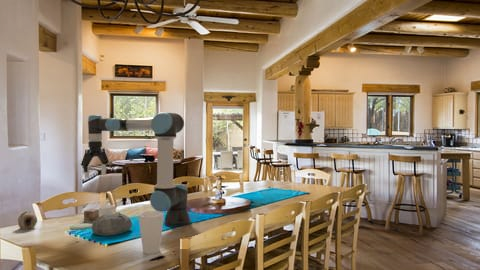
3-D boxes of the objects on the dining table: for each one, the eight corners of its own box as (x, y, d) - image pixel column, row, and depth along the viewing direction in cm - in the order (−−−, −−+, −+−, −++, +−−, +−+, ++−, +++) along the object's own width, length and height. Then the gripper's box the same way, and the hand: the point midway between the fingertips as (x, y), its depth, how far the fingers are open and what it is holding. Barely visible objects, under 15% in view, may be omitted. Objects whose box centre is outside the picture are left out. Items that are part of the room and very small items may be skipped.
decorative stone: (92, 229, 194) (91, 211, 194) (131, 225, 202) (131, 208, 201) (91, 238, 178) (91, 219, 177) (133, 234, 185) (133, 215, 185)
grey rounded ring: (18, 233, 196) (12, 216, 195) (32, 226, 203) (26, 211, 203) (29, 230, 192) (22, 213, 191) (42, 223, 200) (36, 207, 199)
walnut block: (98, 218, 217) (98, 209, 217) (93, 221, 211) (93, 211, 211) (90, 218, 218) (89, 208, 218) (84, 220, 212) (84, 211, 212)
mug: (107, 228, 196) (107, 209, 196) (96, 224, 203) (95, 206, 203) (121, 225, 202) (120, 206, 202) (109, 221, 210) (109, 204, 210)
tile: (105, 218, 218) (105, 218, 218) (91, 223, 208) (91, 222, 208) (91, 217, 222) (91, 217, 222) (77, 221, 211) (77, 221, 211)
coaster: (97, 225, 203) (97, 224, 203) (81, 230, 192) (81, 230, 192) (81, 223, 207) (81, 222, 207) (64, 228, 196) (64, 228, 196)
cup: (148, 246, 166) (148, 210, 166) (167, 248, 163) (167, 211, 163) (134, 254, 155) (134, 216, 155) (155, 256, 153) (154, 217, 152)
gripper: (104, 140, 224) (105, 173, 224) (73, 141, 200) (74, 178, 201) (114, 140, 221) (114, 173, 221) (84, 141, 198) (84, 179, 198)
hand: (95, 176), depth 211 cm, fingers open, 13 cm apart
